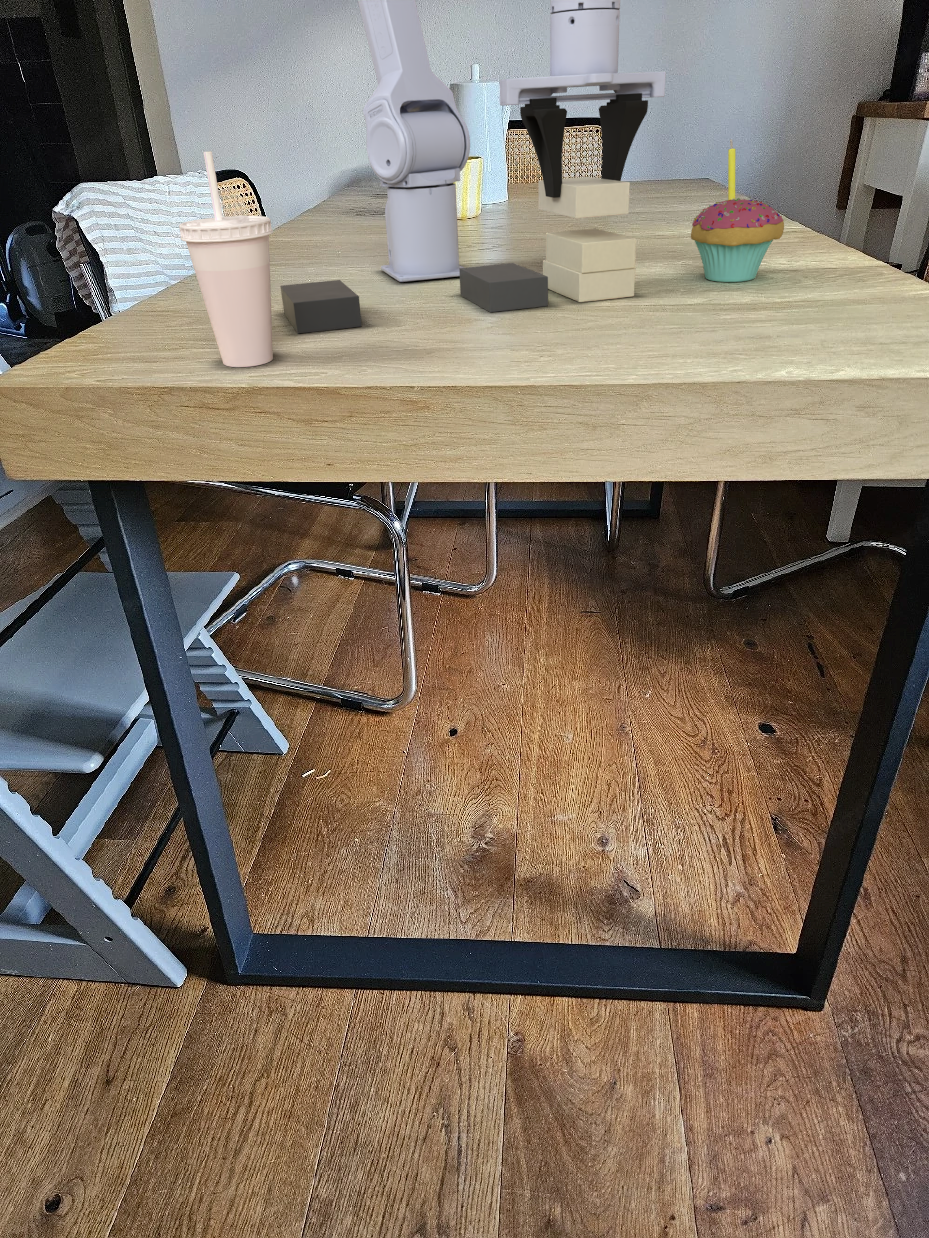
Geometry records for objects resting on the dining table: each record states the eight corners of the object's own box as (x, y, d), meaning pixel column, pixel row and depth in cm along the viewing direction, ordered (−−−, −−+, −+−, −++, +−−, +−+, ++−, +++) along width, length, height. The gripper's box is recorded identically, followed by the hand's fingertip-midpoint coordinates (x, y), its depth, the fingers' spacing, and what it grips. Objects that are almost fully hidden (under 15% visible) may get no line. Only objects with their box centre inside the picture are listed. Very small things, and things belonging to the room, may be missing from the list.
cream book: (538, 209, 84) (538, 180, 83) (587, 205, 85) (587, 176, 84) (575, 218, 76) (576, 186, 75) (628, 214, 77) (630, 182, 76)
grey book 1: (284, 314, 82) (280, 285, 80) (343, 307, 83) (339, 279, 82) (297, 333, 74) (293, 302, 73) (362, 326, 75) (358, 295, 74)
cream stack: (542, 287, 88) (542, 232, 85) (593, 281, 89) (595, 227, 86) (579, 303, 80) (581, 243, 77) (635, 296, 81) (638, 238, 79)
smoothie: (186, 367, 66) (143, 155, 59) (243, 347, 71) (209, 149, 63) (253, 375, 63) (217, 153, 56) (308, 353, 68) (280, 147, 61)
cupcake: (669, 277, 89) (678, 141, 83) (737, 267, 92) (751, 136, 86) (725, 289, 82) (739, 143, 76) (796, 279, 85) (815, 137, 79)
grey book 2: (460, 295, 86) (459, 268, 84) (514, 290, 87) (513, 262, 86) (490, 312, 78) (489, 282, 77) (548, 306, 79) (548, 276, 78)
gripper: (518, 10, 68) (521, 204, 75) (687, 5, 71) (675, 191, 78) (489, 19, 74) (494, 198, 81) (647, 14, 77) (639, 186, 84)
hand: (581, 194), depth 80 cm, fingers closed on cream book, 5 cm apart
